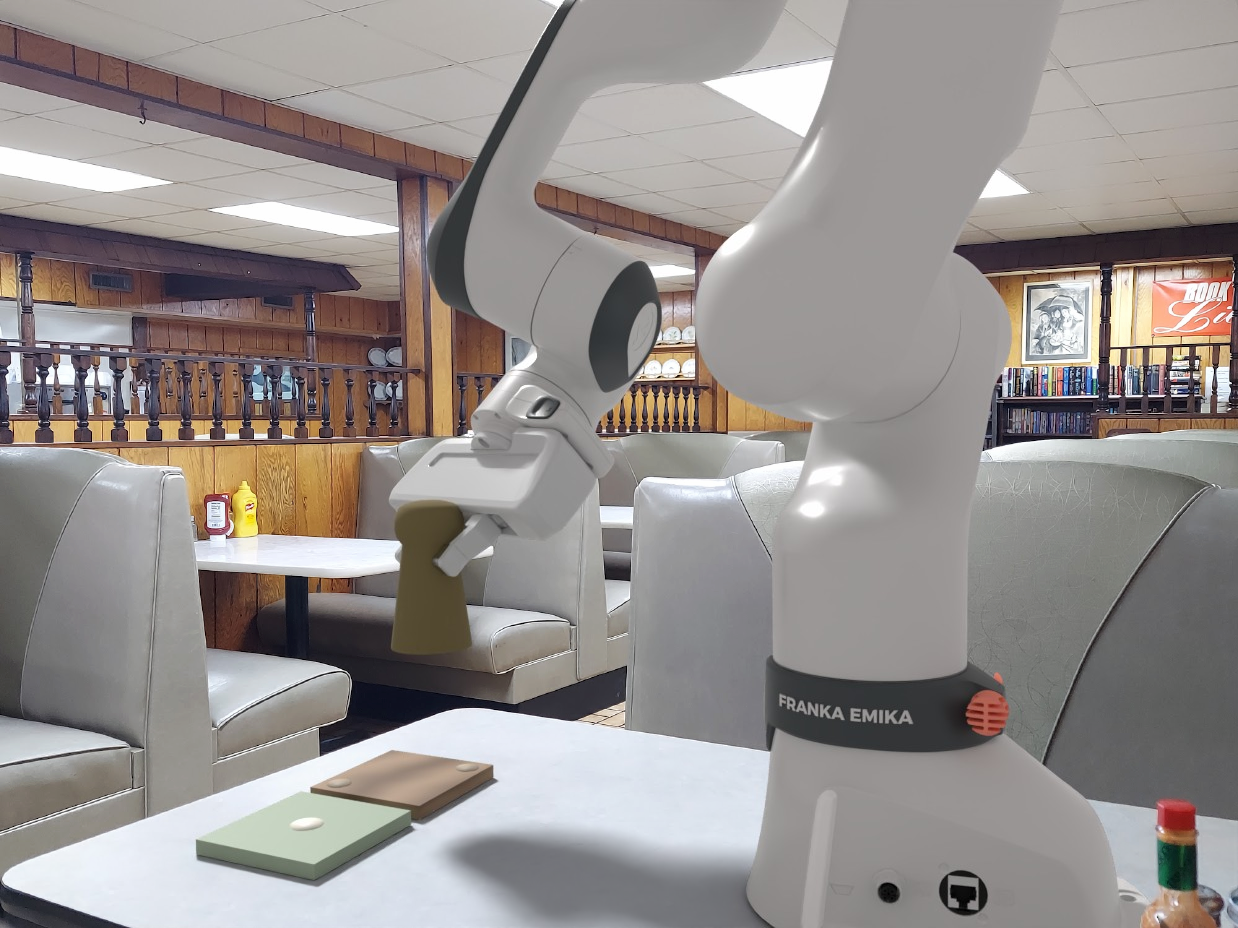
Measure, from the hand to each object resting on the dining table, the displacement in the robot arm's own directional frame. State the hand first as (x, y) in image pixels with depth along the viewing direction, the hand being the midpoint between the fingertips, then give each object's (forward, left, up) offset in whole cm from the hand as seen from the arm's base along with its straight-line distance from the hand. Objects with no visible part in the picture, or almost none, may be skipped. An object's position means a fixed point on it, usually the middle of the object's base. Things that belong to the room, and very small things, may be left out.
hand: (422, 567), depth 78 cm
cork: (0, -1, -6) cm, 6 cm away
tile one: (+3, +9, -18) cm, 20 cm away
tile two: (+3, -2, -18) cm, 18 cm away
